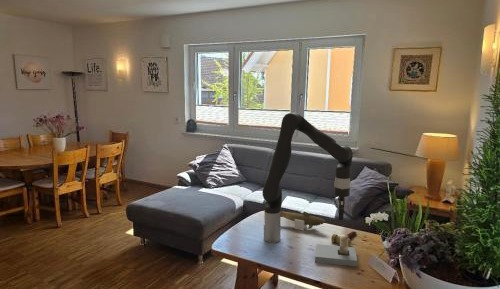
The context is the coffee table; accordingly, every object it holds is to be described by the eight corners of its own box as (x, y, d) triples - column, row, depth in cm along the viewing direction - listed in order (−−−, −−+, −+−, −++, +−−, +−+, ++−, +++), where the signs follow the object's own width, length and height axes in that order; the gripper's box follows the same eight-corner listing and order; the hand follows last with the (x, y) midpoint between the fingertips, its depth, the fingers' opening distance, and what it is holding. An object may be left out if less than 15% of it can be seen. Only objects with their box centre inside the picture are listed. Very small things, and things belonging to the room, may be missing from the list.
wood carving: (275, 219, 216) (275, 203, 214) (326, 229, 199) (327, 212, 197) (269, 224, 208) (269, 208, 206) (322, 235, 191) (323, 217, 190)
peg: (339, 259, 163) (339, 237, 161) (338, 255, 167) (339, 233, 165) (348, 260, 162) (348, 238, 160) (347, 256, 166) (348, 234, 164)
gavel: (348, 226, 197) (364, 230, 190) (348, 233, 197) (363, 238, 191) (331, 235, 182) (347, 240, 175) (330, 242, 182) (347, 248, 175)
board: (315, 262, 161) (315, 256, 161) (315, 249, 175) (316, 243, 174) (356, 266, 156) (357, 260, 156) (354, 252, 170) (354, 247, 169)
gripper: (334, 181, 169) (333, 211, 172) (334, 189, 156) (333, 221, 158) (349, 182, 167) (347, 212, 170) (350, 190, 154) (349, 222, 156)
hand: (340, 216), depth 164 cm, fingers open, 8 cm apart
